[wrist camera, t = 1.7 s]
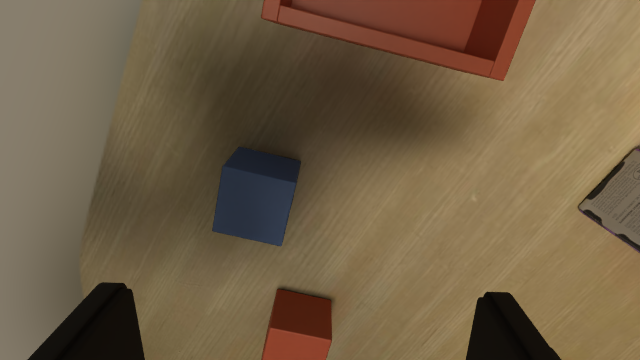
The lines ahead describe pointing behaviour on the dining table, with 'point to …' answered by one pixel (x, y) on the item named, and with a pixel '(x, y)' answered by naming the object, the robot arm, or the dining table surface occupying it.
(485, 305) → the robot arm
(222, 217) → the blue block
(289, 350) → the red block
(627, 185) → the candy box
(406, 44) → the terracotta bin
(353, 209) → the dining table surface
